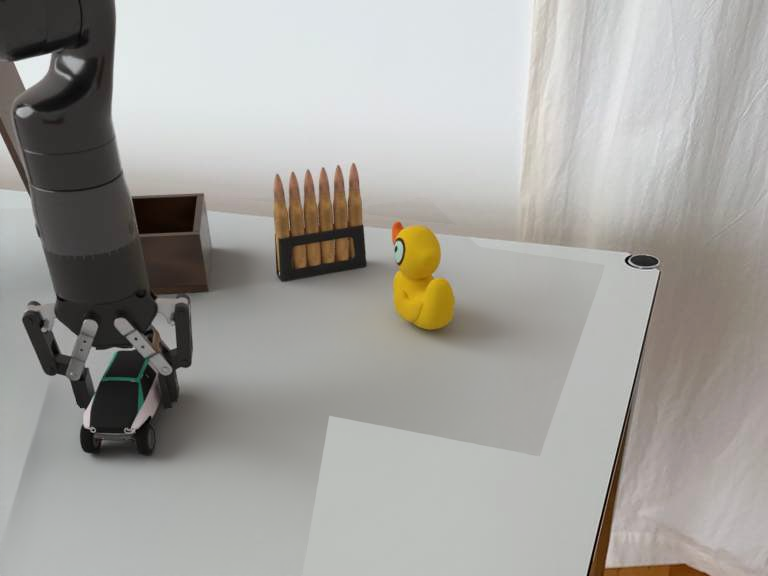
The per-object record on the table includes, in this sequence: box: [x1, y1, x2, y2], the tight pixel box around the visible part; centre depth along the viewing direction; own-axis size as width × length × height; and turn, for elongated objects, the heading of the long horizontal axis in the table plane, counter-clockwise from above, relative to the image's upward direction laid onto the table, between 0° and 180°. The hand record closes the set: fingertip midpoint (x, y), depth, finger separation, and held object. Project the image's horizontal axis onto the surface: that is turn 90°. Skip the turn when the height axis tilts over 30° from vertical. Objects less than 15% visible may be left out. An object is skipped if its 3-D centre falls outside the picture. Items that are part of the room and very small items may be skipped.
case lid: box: [0, 61, 31, 199], centre depth 95 cm, size 16×12×1 cm
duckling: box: [391, 221, 456, 330], centre depth 95 cm, size 11×5×10 cm, turn 27°
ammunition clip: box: [273, 162, 368, 282], centre depth 103 cm, size 11×2×12 cm, turn 112°
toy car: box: [79, 348, 162, 456], centre depth 82 cm, size 6×12×5 cm, turn 178°
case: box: [131, 192, 213, 295], centre depth 104 cm, size 16×12×7 cm
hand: (130, 405), depth 83 cm, fingers closed on toy car, 6 cm apart
